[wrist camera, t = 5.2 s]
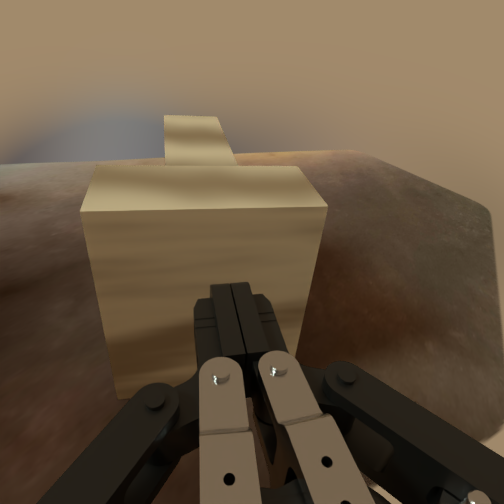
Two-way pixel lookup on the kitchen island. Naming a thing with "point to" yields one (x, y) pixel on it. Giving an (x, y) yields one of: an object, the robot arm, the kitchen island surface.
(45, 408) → the kitchen island surface
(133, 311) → the t block
